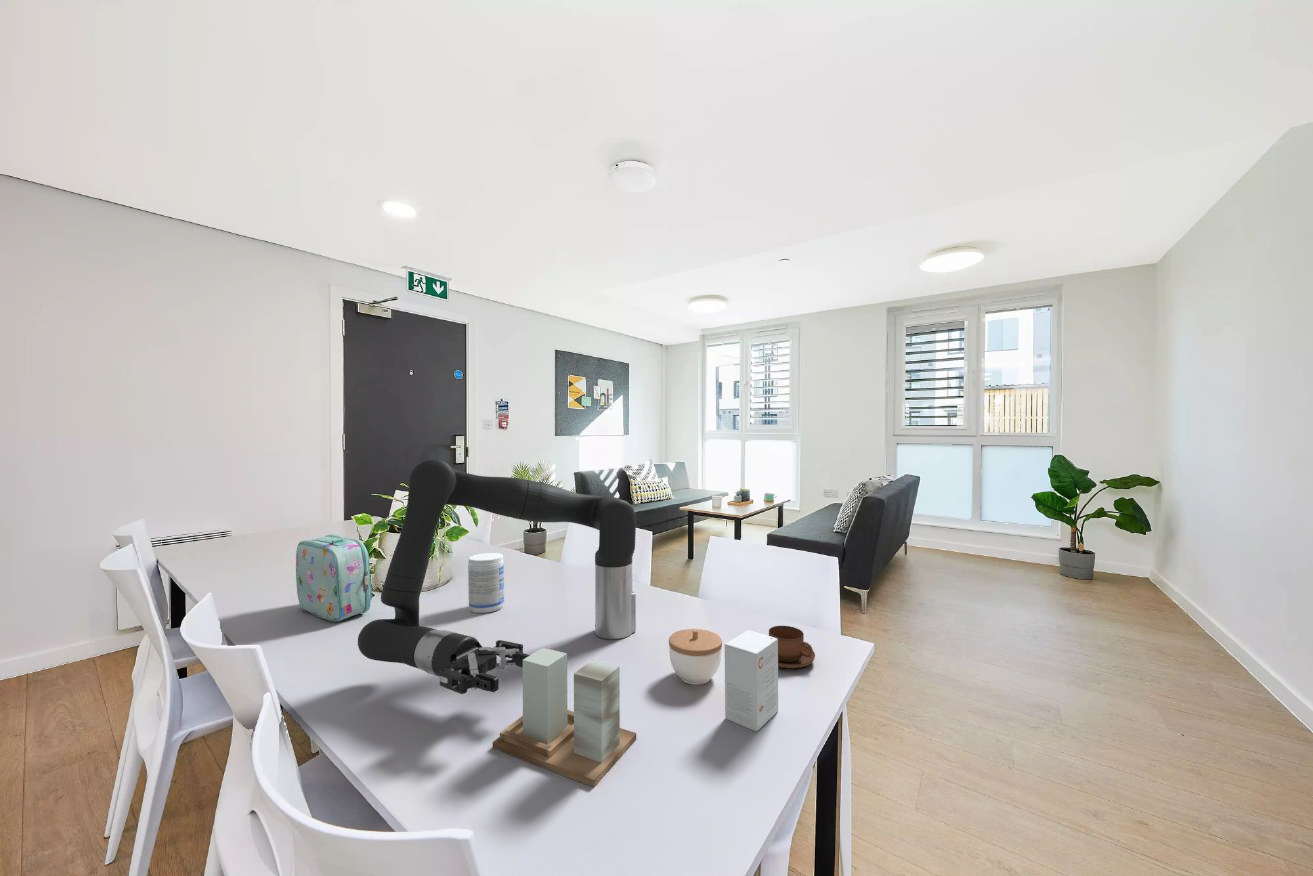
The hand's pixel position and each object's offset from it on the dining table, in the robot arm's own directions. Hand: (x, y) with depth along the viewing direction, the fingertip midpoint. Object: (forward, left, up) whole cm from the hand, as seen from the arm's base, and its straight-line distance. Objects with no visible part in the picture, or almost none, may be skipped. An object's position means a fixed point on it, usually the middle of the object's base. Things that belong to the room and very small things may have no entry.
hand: (516, 673), depth 82 cm
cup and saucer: (-57, +8, -9) cm, 58 cm away
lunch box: (+26, -81, -9) cm, 85 cm away
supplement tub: (-10, -61, -9) cm, 62 cm away
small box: (-35, +19, -9) cm, 41 cm away
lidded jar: (-35, +3, -9) cm, 37 cm away
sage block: (-3, +5, -8) cm, 10 cm away
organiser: (-5, +9, -9) cm, 14 cm away
